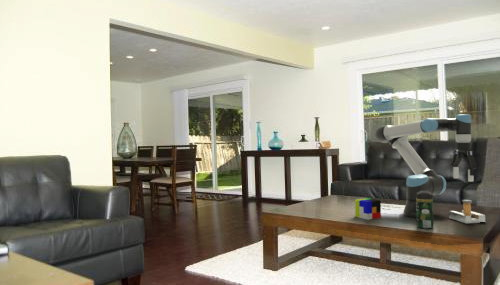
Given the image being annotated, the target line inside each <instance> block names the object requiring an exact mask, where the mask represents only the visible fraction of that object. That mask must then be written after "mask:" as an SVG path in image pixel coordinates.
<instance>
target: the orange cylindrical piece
mask: <svg viewBox="0 0 500 285" xmlns="http://www.w3.org/2000/svg"><path fill="white" fill-rule="evenodd" d="M472 202H473V200H471V199H462V203H463V210H464V214H467V215H470V216H471V211H472V206H471V204H472Z"/></svg>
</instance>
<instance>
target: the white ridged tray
mask: <svg viewBox="0 0 500 285" xmlns="http://www.w3.org/2000/svg"><path fill="white" fill-rule="evenodd" d="M448 217H449V218H448V219H451V220H455V221H457V222H459V223H463V224H480V222H485V223H486V215H485V214H484V213H480V212H476V211H472V210H471V216H470V215H467V214H464V209H463V210H461V212H459V211H455V210H449V211H448Z"/></svg>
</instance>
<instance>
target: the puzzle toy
mask: <svg viewBox="0 0 500 285" xmlns="http://www.w3.org/2000/svg"><path fill="white" fill-rule="evenodd" d="M354 202H355V203H354V205H355V208H354V209H355V210H354V211H355V217H356V218H360V219H364V220H368V221H369V220H373V219H381V218H382V217H381V216H382V210H381V209H382V206H381V204H382V203H381V200H380V199H374V198H370V197H368V198H365V197H364V198H359V199H355V200H354Z"/></svg>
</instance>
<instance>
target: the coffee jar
mask: <svg viewBox="0 0 500 285" xmlns="http://www.w3.org/2000/svg"><path fill="white" fill-rule="evenodd" d="M433 196H434V195H433V194H432V193H431V192H429V191H420V192H417V194H416V212H417V217H416V226H417V228H420V229H424V230H425V229H426V230H427V229H433V228H434V197H433Z"/></svg>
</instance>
